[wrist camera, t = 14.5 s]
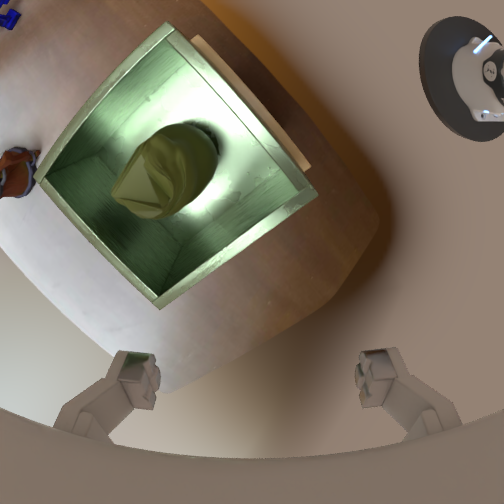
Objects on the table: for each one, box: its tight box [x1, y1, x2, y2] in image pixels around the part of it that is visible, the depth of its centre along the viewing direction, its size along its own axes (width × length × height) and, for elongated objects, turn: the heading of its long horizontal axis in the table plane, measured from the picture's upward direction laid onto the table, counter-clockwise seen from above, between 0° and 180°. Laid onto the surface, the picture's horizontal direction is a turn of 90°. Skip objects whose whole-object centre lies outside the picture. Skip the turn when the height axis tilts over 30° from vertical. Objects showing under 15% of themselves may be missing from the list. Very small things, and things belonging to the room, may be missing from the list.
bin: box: [33, 21, 318, 310], centre depth 32 cm, size 14×14×36 cm
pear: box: [111, 123, 218, 219], centre depth 18 cm, size 6×5×10 cm
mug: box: [0, 147, 40, 199], centre depth 43 cm, size 18×12×15 cm, turn 114°
